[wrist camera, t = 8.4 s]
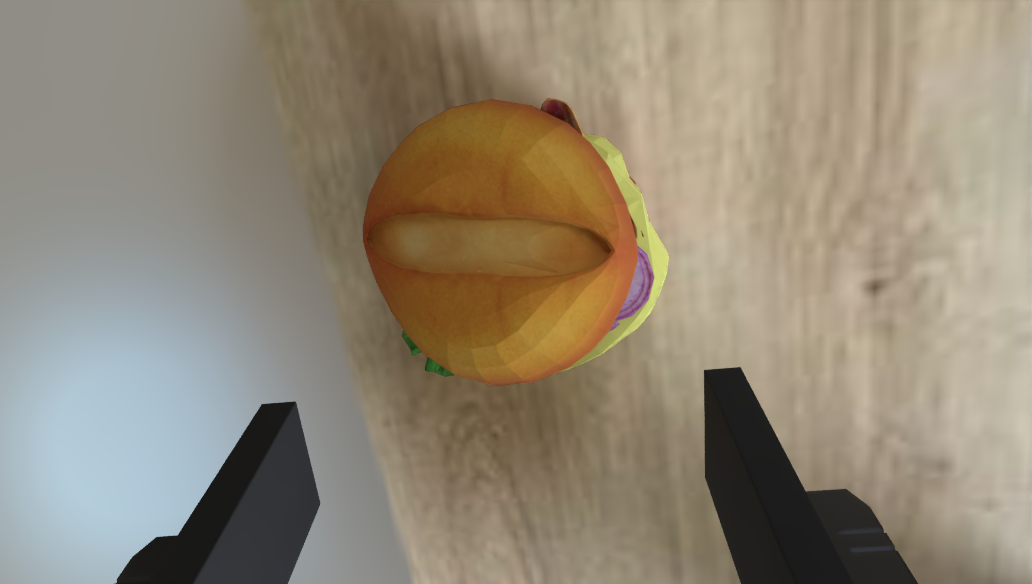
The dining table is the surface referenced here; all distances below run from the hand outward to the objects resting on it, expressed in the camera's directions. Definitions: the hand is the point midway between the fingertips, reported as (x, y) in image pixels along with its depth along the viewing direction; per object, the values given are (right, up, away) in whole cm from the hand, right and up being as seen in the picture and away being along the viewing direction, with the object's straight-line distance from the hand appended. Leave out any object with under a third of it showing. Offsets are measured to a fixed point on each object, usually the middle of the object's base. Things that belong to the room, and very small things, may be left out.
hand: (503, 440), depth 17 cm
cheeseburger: (0, +6, +14) cm, 16 cm away
